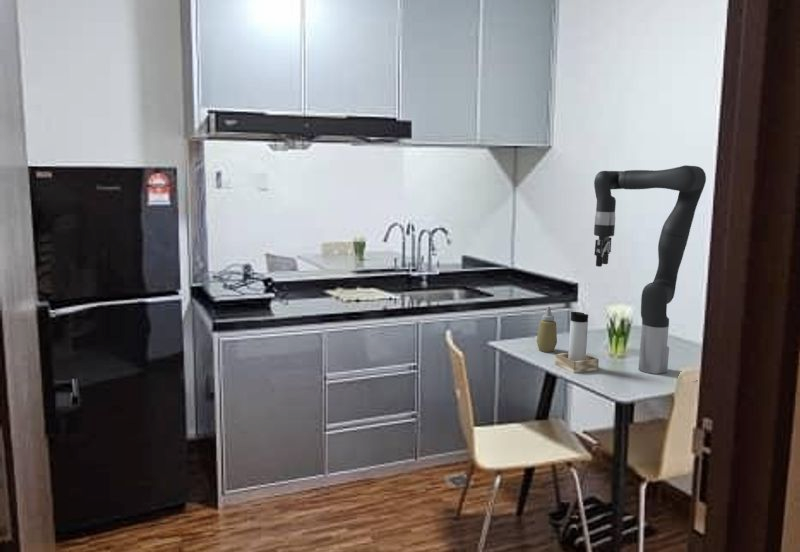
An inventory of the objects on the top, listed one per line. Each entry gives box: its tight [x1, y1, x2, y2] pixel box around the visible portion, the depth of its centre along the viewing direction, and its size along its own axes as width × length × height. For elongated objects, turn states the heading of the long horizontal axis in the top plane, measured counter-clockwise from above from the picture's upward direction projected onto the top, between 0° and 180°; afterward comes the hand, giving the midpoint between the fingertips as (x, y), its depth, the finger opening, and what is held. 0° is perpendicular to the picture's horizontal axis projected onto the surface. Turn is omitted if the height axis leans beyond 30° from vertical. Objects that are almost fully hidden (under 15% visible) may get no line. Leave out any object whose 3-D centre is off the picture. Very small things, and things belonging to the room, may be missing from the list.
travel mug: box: [568, 311, 589, 361], centre depth 255 cm, size 6×7×20 cm
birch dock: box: [554, 352, 599, 374], centre depth 256 cm, size 11×11×4 cm
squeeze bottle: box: [536, 306, 558, 353], centre depth 278 cm, size 8×8×18 cm
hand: (601, 265), depth 267 cm, fingers open, 8 cm apart
